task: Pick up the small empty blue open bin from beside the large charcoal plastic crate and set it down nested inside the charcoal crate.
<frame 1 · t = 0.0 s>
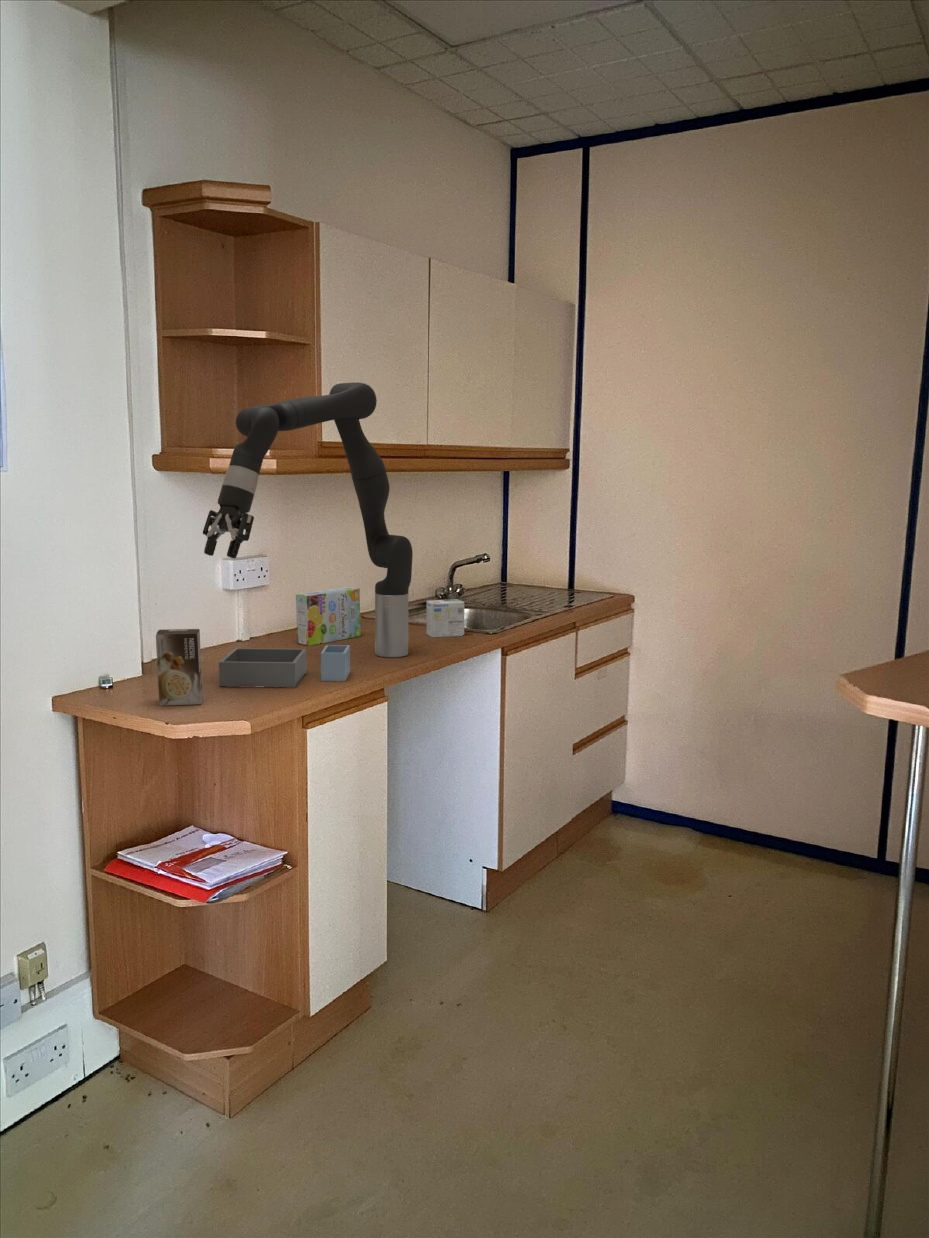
hand: (219, 556, 223), 31 cm above the worktop, tool tilted 20°, fingers open, 8 cm apart
charcoal crate: (264, 679, 240), on the worktop
snack box: (329, 641, 291), on the worktop
coffee box: (181, 702, 217), on the worktop
light bulb box: (445, 635, 302), on the worktop
blue open bin: (335, 676, 244), on the worktop
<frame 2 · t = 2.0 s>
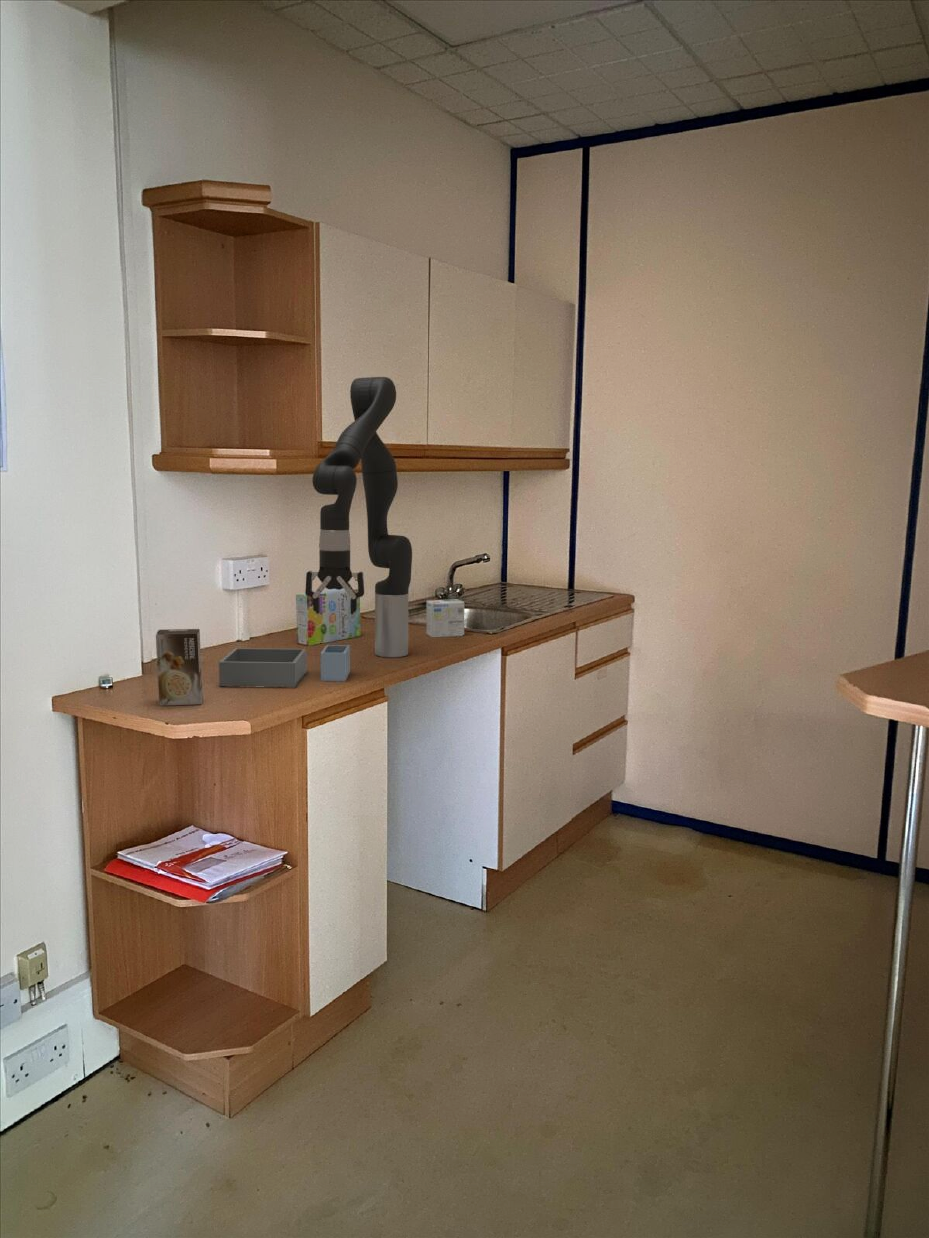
hand: (335, 613, 241), 16 cm above the worktop, tool pointing down, fingers open, 8 cm apart
nothing on the worktop moved.
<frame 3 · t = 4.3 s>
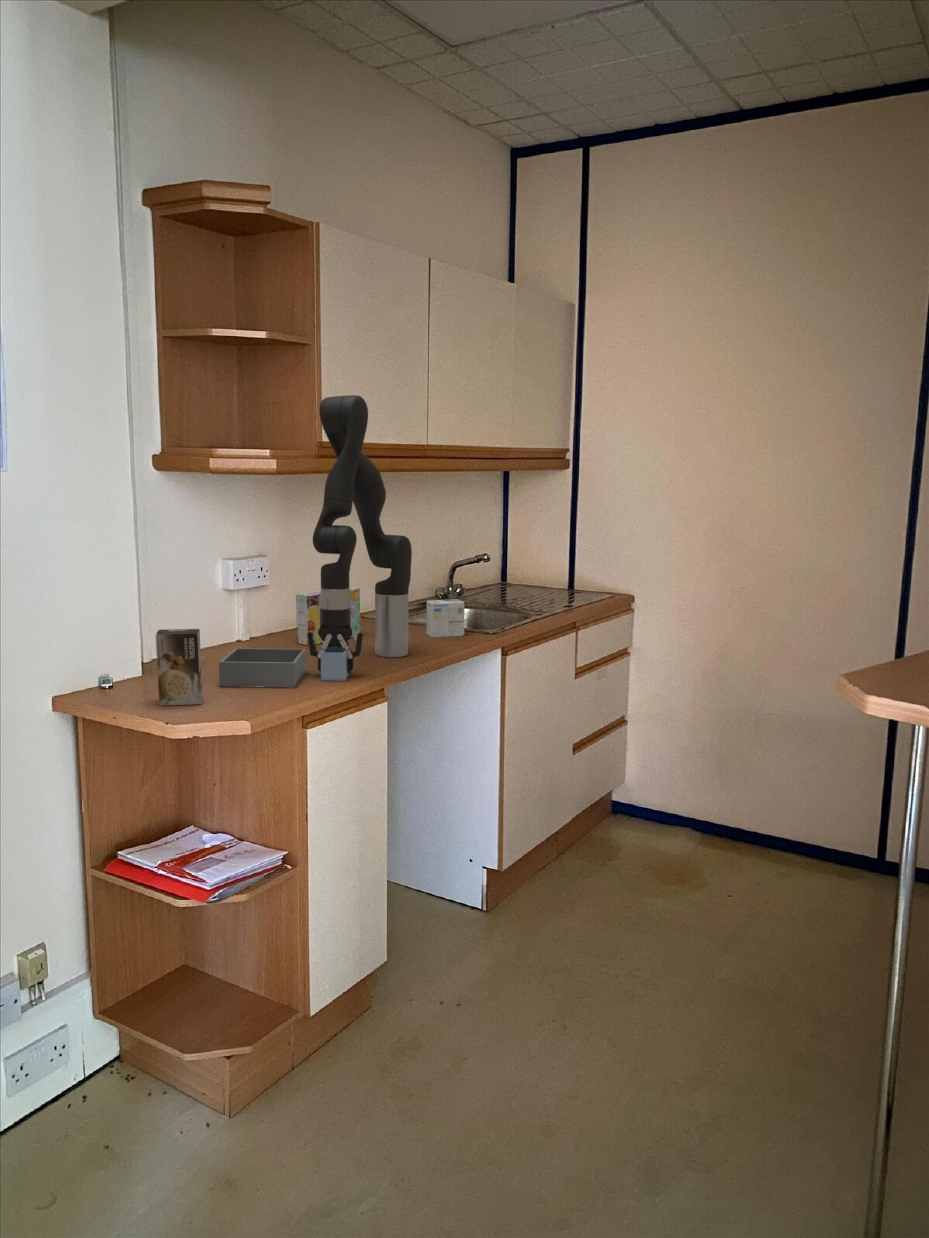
hand: (335, 672, 244), 1 cm above the worktop, tool pointing down, fingers closed on blue open bin, 6 cm apart
blue open bin: (335, 676, 244), on the worktop, touching gripper
everything else where it was.
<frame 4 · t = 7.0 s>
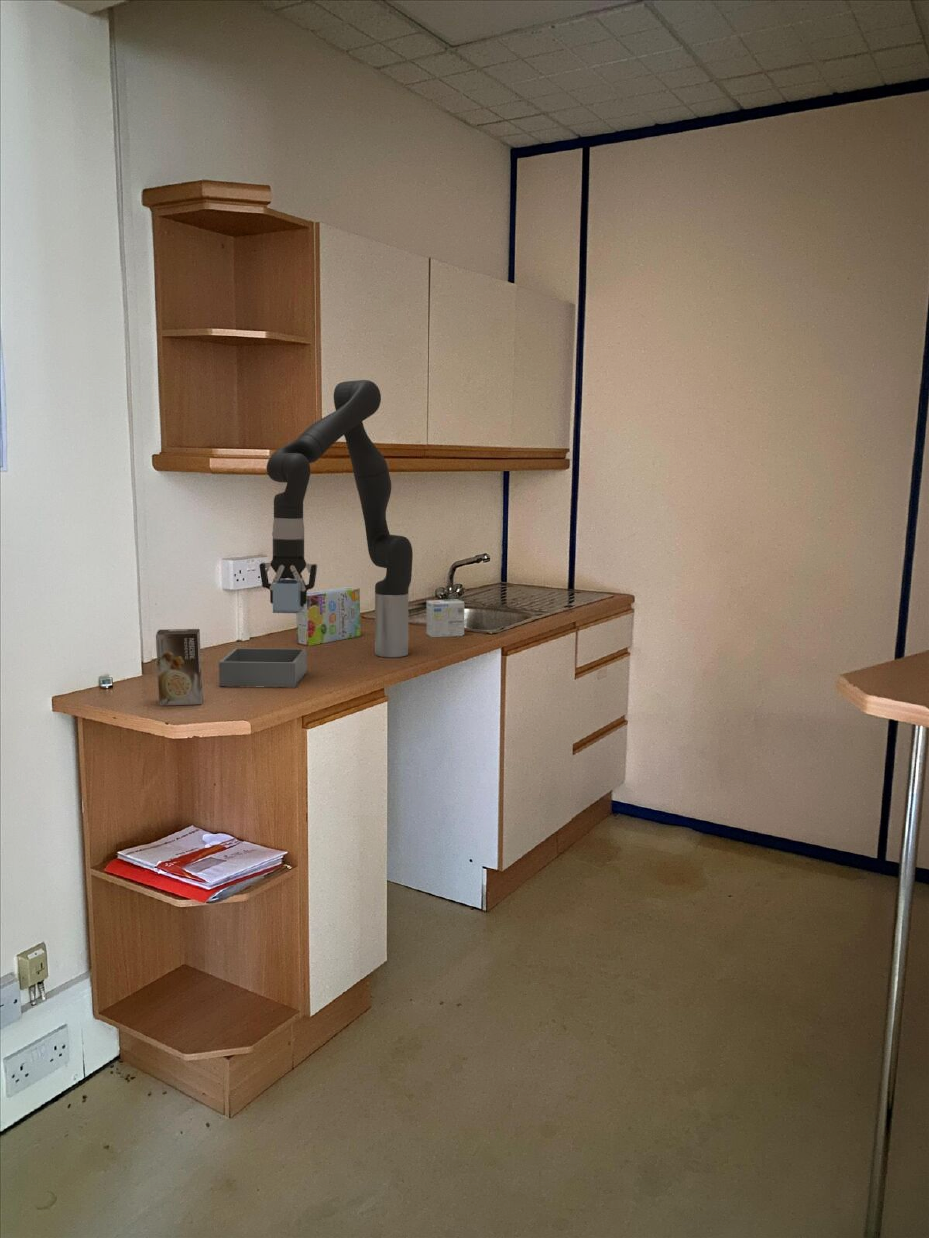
hand: (288, 605, 238), 18 cm above the worktop, tool pointing down, fingers closed on blue open bin, 6 cm apart
blue open bin: (288, 610, 238), point 17 cm above the worktop, touching gripper
everything else where it was.
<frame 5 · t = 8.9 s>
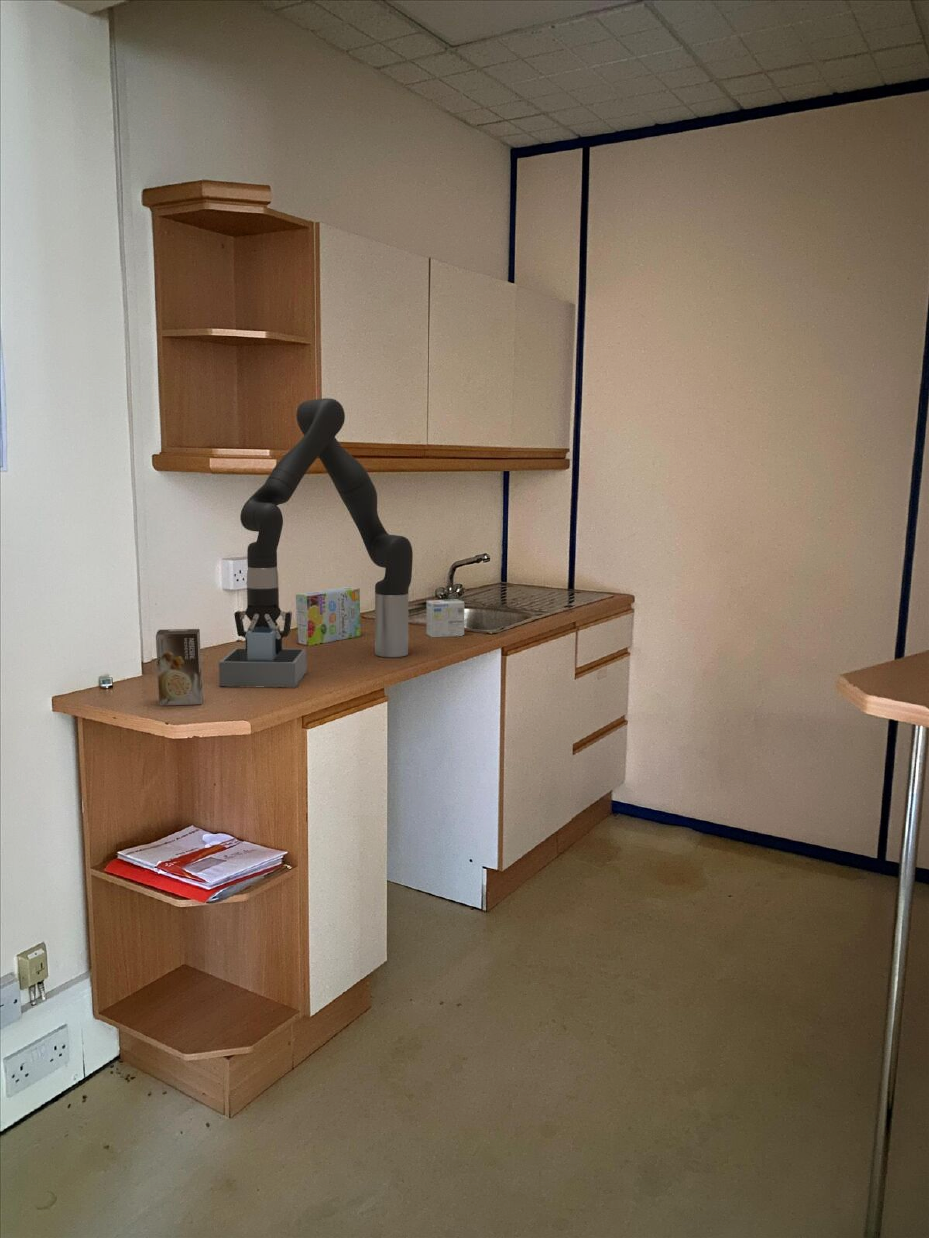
hand: (264, 653, 239), 7 cm above the worktop, tool pointing down, fingers closed on blue open bin, 6 cm apart
blue open bin: (264, 657, 239), point 5 cm above the worktop, touching gripper
everything else where it was.
when the fingers open (3 cm above the worktop, at t = 10.1 s): blue open bin stays where it is, resting on charcoal crate.
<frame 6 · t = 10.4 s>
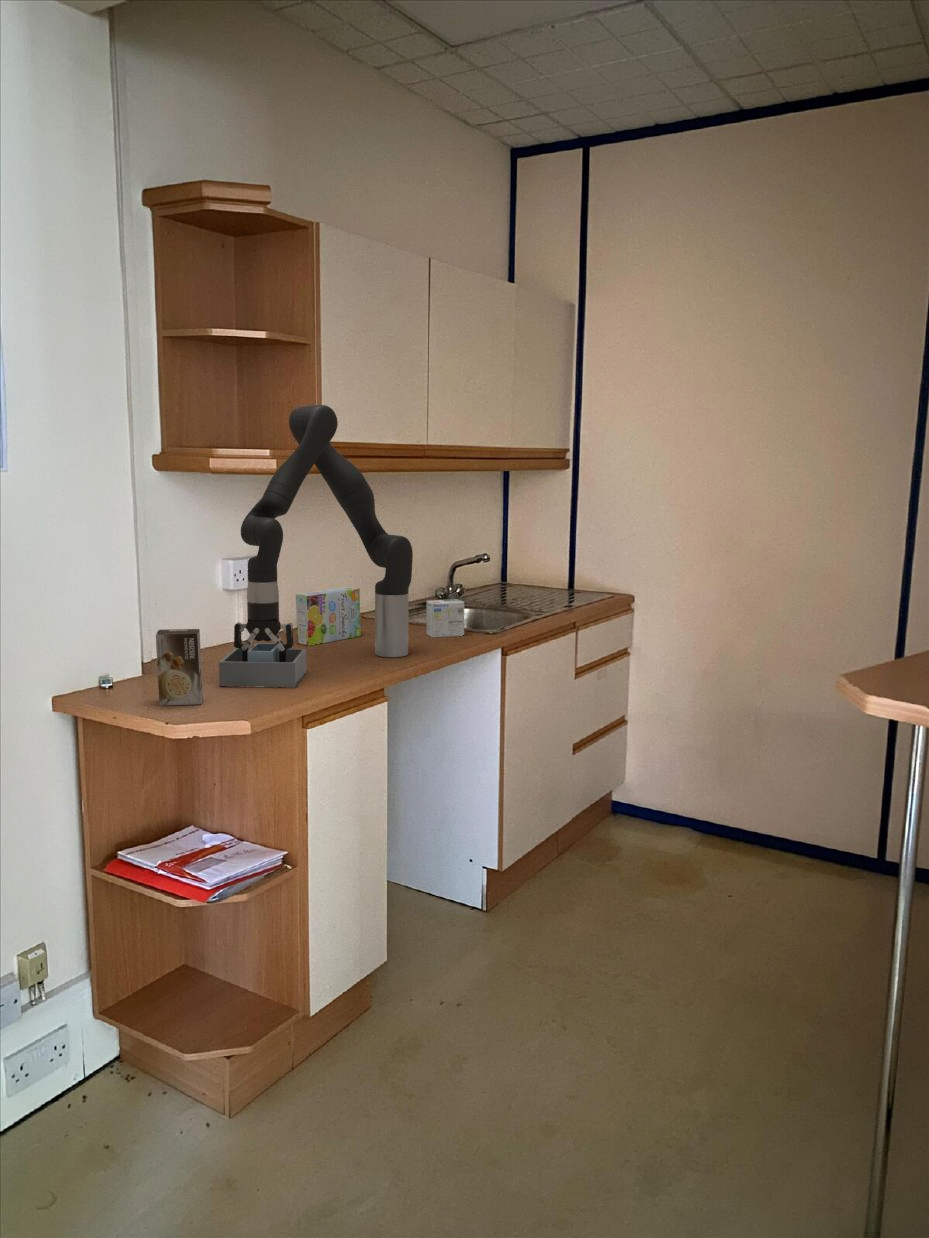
hand: (264, 665, 239), 4 cm above the worktop, tool pointing down, fingers open, 8 cm apart
blue open bin: (264, 675, 240), point 1 cm above the worktop, touching charcoal crate
everything else where it was.
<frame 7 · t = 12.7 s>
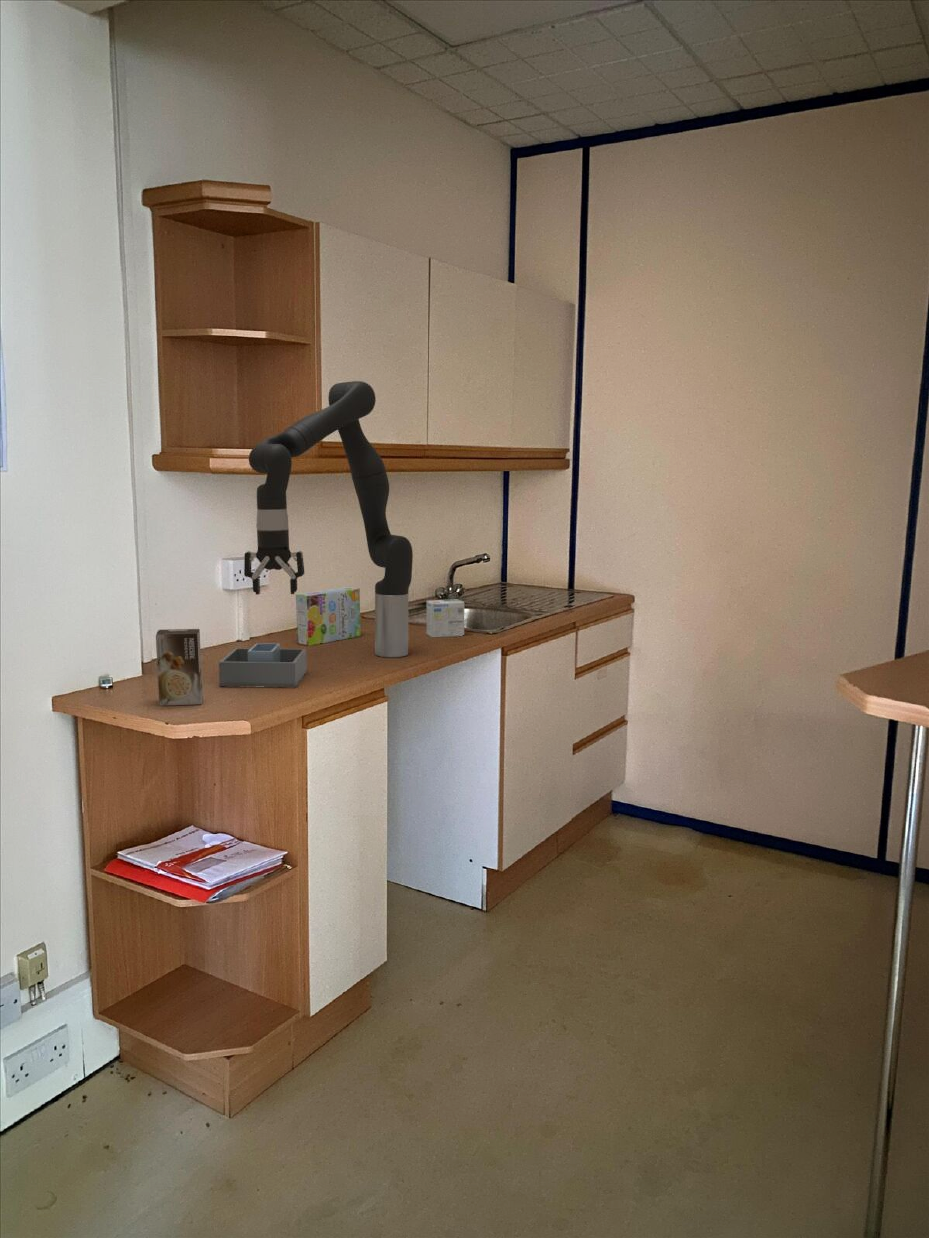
hand: (275, 594, 239), 21 cm above the worktop, tool pointing down, fingers open, 8 cm apart
nothing on the worktop moved.
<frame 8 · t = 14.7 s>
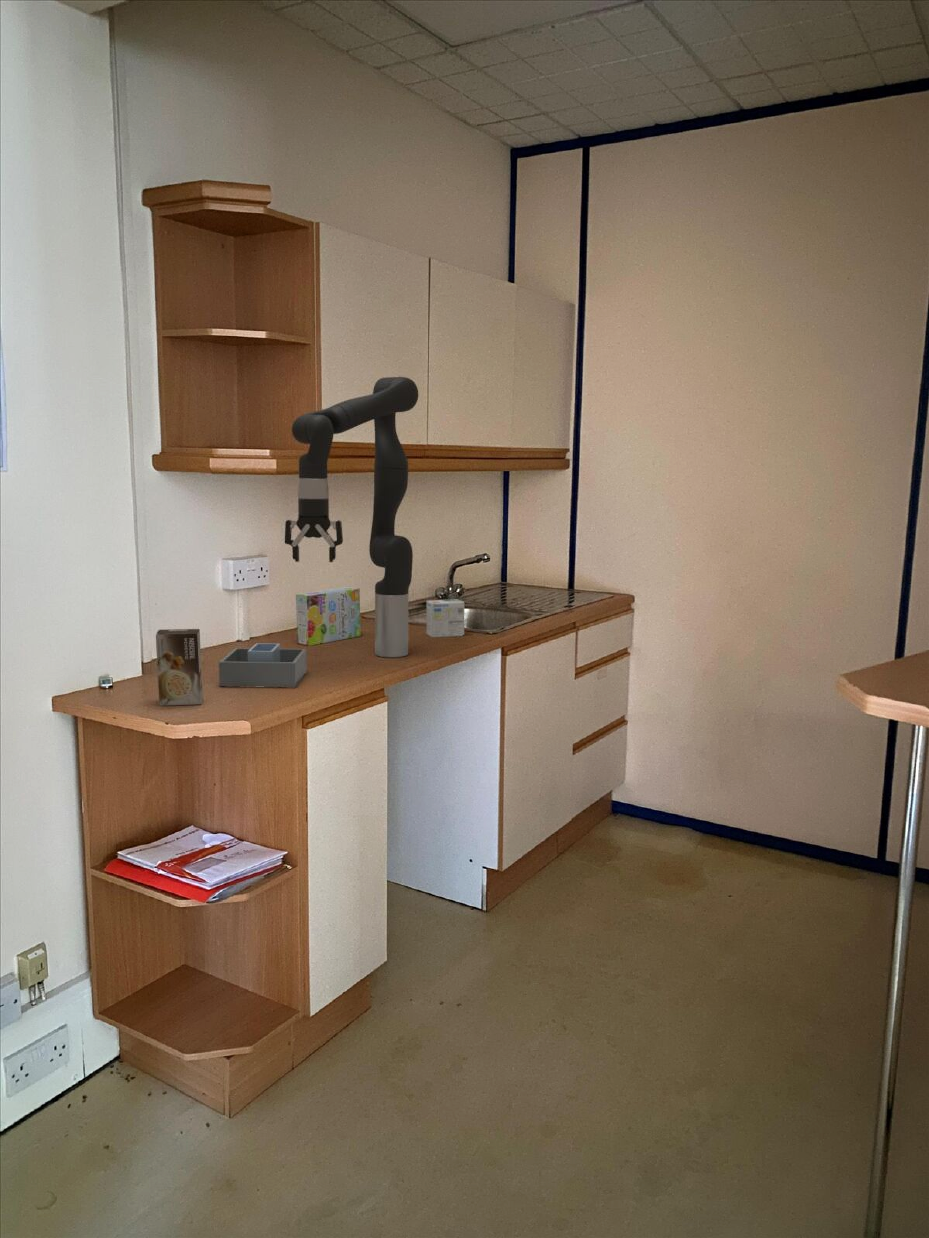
hand: (314, 561, 245), 28 cm above the worktop, tool pointing down, fingers open, 8 cm apart
nothing on the worktop moved.
at the end: blue open bin inside the target area on the charcoal crate (0.1 cm from its centre), point 1.0 cm above the charcoal crate's base; blue open bin tilted 0°; the gripper is holding nothing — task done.
